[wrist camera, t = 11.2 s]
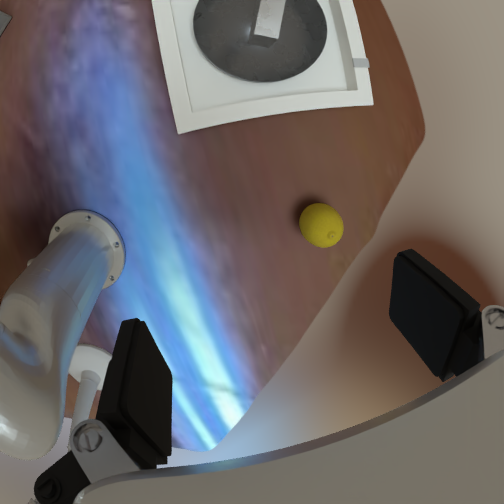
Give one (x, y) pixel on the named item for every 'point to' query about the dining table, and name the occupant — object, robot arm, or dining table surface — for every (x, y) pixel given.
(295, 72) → the dial
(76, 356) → the candlestick
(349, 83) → the dial housing
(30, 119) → the dining table surface
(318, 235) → the lemon
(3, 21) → the skincare box
